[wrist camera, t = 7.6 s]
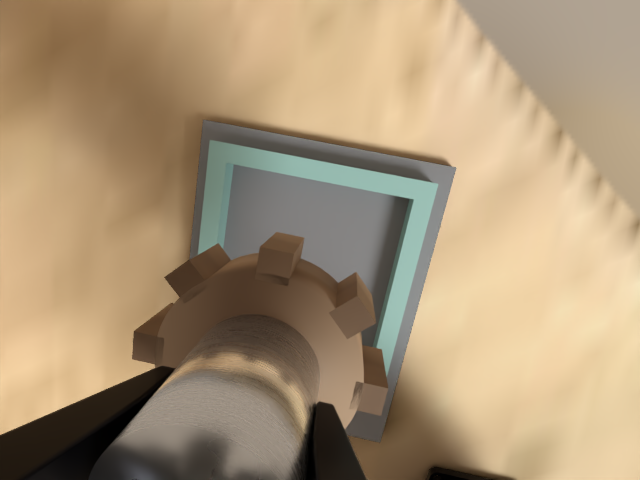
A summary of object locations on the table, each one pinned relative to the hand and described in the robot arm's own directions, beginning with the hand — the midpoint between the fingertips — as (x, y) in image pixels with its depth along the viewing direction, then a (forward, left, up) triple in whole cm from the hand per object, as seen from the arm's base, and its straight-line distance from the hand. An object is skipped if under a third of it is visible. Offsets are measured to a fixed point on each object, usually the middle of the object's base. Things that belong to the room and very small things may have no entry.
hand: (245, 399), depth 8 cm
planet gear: (0, 0, -3) cm, 3 cm away
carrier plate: (0, +2, -12) cm, 12 cm away
